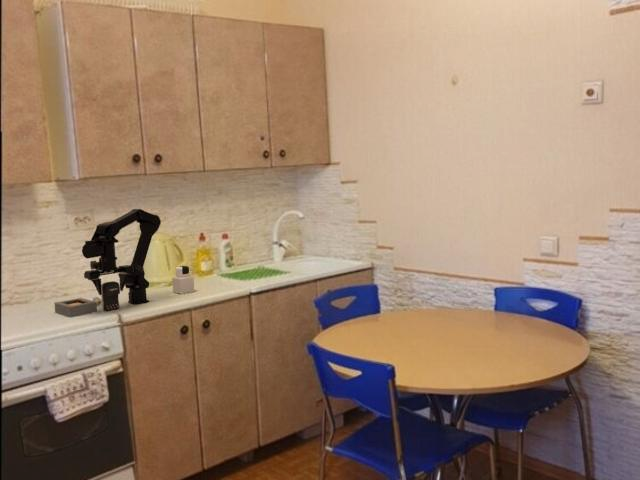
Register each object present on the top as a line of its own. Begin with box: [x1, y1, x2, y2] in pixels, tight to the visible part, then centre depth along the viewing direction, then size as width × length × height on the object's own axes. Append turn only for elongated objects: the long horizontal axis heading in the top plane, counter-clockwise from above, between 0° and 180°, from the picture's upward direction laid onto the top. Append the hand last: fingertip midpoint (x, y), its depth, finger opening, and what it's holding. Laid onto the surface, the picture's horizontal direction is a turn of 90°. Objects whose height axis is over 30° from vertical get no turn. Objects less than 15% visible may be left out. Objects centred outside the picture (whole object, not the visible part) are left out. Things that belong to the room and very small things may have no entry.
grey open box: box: [53, 297, 98, 318], centre depth 246 cm, size 11×14×4 cm
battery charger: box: [100, 280, 121, 312], centre depth 247 cm, size 7×4×11 cm, turn 141°
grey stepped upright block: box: [171, 265, 195, 295], centre depth 279 cm, size 7×7×12 cm
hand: (111, 292), depth 247 cm, fingers open, 9 cm apart
